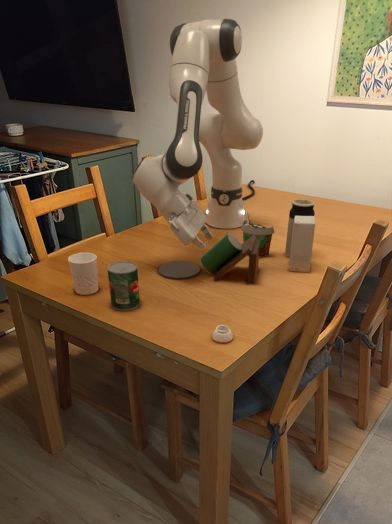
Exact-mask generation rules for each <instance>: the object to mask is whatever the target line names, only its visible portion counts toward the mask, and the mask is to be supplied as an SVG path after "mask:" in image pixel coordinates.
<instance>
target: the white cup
mask: <svg viewBox="0 0 392 524" xmlns="http://www.w3.org/2000/svg"><path fill="white" fill-rule="evenodd" d="M67 261H68V265H69V272H70V276H71V279H72V283H73V288H74V292H75V293H76V294H78V295H82V296H88V295H93V294H96V293H97V292H98V291H99V270H98V269H99V267H98V257H97V255H96V254H95V253H93V252H78V253H73V254H71V255H70V256H68V258H67Z"/></svg>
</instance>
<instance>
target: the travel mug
mask: <svg viewBox="0 0 392 524" xmlns="http://www.w3.org/2000/svg"><path fill="white" fill-rule="evenodd" d="M315 205H316V201H314V200H313V199H309V198H295V199H292V200H291V208H290V210H289V214H288V223H287V232H286V241H285V248H284V249H285V250H284V254H285V255H284V256H286V257H288V258H290V254H291V243H292V233H293V225H294V218H295V216H315V215H316V214H315V209H314V207H315Z"/></svg>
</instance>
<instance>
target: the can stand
mask: <svg viewBox="0 0 392 524" xmlns="http://www.w3.org/2000/svg"><path fill="white" fill-rule="evenodd" d="M255 239H256V237H255V236H254V235H252V236H251V237H250V238H249V239H248V240H246V241H245V242H244V243H243V242H242V244H241V246H242V249H241V251H239V252H238V253H237V254H236V255H235V256H233V257H232V258H231V259H230V260H229V261H227V262H226V263H225V264H224V265H223V266H221V267H220V268H219V269H218V270H217V271H215V272H214V275H213V280H214V281H218V280H219V279H220V278H221V277H223V276H224V275H225V274H227V272H229V271H230V270H231V269H232V268H234V267H235V266H236V265H237V264H238V263H239V262H241V261H242V260H243V259H245V258H246V257H247V256H248V268H247V269H248V270H247V271H248V272H247V285H255V282H256V279H257V275H258V272H259V265H260V264H259V263H260V257H259V252H260V240H255ZM249 253H250V254H249ZM248 254H249V255H248Z"/></svg>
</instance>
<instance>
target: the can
mask: <svg viewBox="0 0 392 524" xmlns="http://www.w3.org/2000/svg"><path fill="white" fill-rule="evenodd" d="M241 245H242V244H241V242H240V241H239V239H238V238H237V237H236V236H235V235H234V234H232V233H227V234H225V236H224V237H222V238H221V239H220V240H219V241H218V242H217V243H216V244H215V245H213V246H212V247H211V248H210V249H209V250H208V251H207V252H205V253H204V254H203V255H202V256H201V257H200V258H199V262H200V265H201V267H202V268H203V269H204V270H205V271H206V272H207V273H209V274H215V273H216V271H217V270H218V269H219V268H220V267H221V266H223V265H224V264H225V263H226V262H227V261H229V260H230V259H231V258H232V257H233V256H235V255H236V254H237V253H238V252H239V251H241V249H242V246H241Z"/></svg>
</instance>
